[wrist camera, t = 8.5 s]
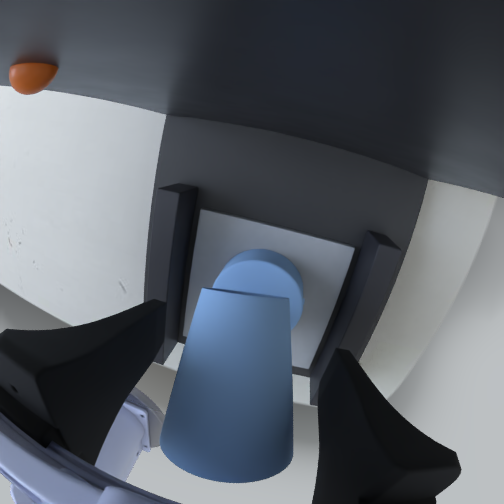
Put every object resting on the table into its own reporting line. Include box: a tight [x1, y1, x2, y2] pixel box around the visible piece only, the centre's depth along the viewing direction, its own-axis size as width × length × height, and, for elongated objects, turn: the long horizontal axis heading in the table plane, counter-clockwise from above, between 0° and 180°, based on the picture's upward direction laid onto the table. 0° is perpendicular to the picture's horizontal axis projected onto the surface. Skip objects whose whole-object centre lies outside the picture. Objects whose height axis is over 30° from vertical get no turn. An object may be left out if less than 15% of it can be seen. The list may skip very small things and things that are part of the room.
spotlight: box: [159, 249, 305, 483], centre depth 11 cm, size 5×10×7 cm
